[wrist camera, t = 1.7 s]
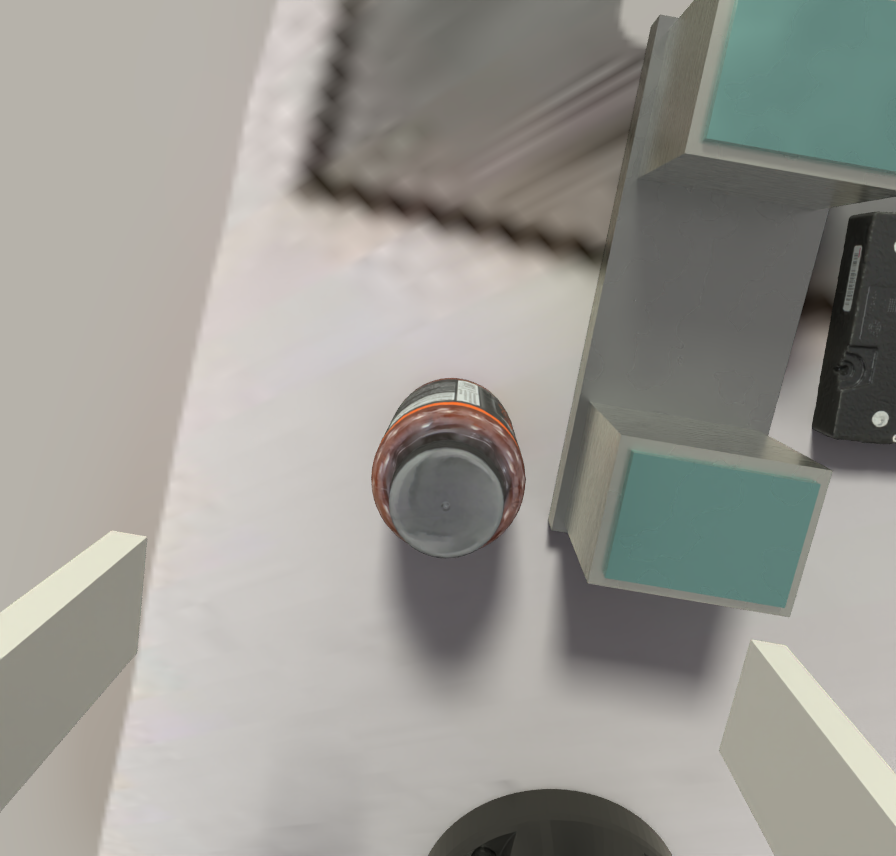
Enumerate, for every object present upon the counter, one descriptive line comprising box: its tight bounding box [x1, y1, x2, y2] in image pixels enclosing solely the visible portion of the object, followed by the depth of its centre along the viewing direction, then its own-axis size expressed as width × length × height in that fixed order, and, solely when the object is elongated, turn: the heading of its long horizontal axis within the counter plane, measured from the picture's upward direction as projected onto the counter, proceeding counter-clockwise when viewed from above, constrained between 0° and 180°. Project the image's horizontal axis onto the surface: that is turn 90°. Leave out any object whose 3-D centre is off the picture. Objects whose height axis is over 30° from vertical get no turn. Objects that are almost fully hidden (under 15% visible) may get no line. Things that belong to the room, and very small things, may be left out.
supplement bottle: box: [371, 378, 526, 558], centre depth 30 cm, size 6×6×11 cm
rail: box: [548, 0, 896, 617], centre depth 30 cm, size 23×9×9 cm, turn 170°
